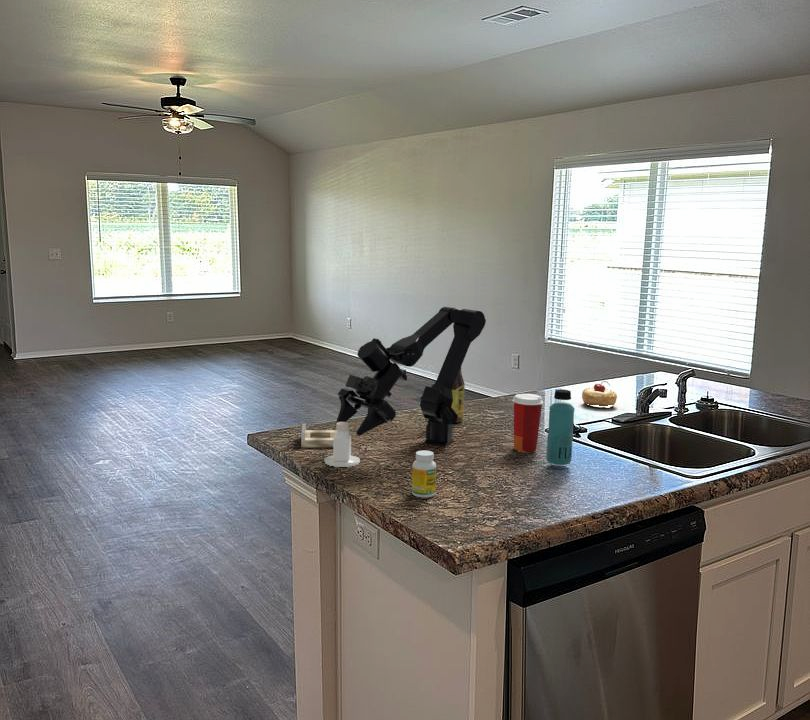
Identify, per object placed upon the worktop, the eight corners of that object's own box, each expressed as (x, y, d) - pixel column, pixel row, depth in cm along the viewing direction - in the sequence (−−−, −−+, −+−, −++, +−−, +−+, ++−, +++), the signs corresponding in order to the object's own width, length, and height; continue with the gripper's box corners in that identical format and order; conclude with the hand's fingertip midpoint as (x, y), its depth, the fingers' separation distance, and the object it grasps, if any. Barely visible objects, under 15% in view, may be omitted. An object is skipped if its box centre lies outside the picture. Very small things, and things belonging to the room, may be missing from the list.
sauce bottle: (461, 424, 226) (464, 361, 222) (441, 422, 227) (444, 359, 224) (464, 419, 232) (467, 357, 229) (444, 417, 233) (447, 356, 230)
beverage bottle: (556, 472, 182) (561, 393, 179) (539, 464, 188) (544, 388, 185) (576, 469, 185) (582, 391, 182) (559, 461, 191) (564, 386, 188)
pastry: (575, 402, 262) (577, 378, 260) (605, 401, 264) (607, 377, 263) (591, 410, 250) (593, 384, 249) (622, 409, 253) (624, 384, 251)
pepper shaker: (335, 456, 187) (336, 420, 186) (351, 457, 187) (351, 421, 185) (332, 461, 183) (333, 424, 182) (348, 462, 183) (349, 425, 181)
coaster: (366, 460, 187) (366, 458, 187) (348, 469, 179) (348, 467, 179) (336, 454, 191) (336, 452, 191) (317, 463, 183) (317, 461, 183)
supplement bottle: (419, 488, 168) (421, 447, 166) (439, 493, 165) (441, 452, 164) (406, 494, 164) (408, 453, 162) (427, 500, 161) (429, 457, 159)
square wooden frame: (337, 437, 208) (338, 423, 207) (338, 447, 198) (338, 432, 197) (302, 437, 207) (302, 423, 206) (301, 447, 197) (301, 432, 196)
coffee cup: (543, 448, 203) (546, 395, 200) (535, 455, 196) (539, 401, 193) (514, 443, 206) (517, 391, 204) (505, 451, 199) (508, 397, 196)
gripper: (343, 357, 192) (307, 404, 187) (387, 369, 178) (349, 419, 173) (367, 383, 198) (333, 429, 193) (411, 396, 184) (375, 446, 179)
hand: (346, 430), depth 185 cm, fingers open, 9 cm apart
